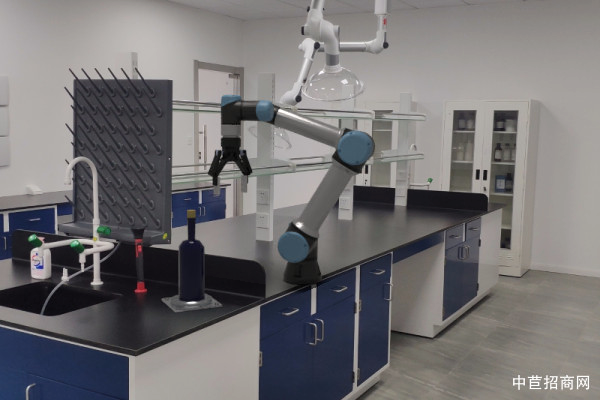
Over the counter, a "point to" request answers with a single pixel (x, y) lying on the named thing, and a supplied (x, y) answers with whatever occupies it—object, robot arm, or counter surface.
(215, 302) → the flange plate
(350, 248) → the counter surface
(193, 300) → the bottle
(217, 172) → the robot arm
